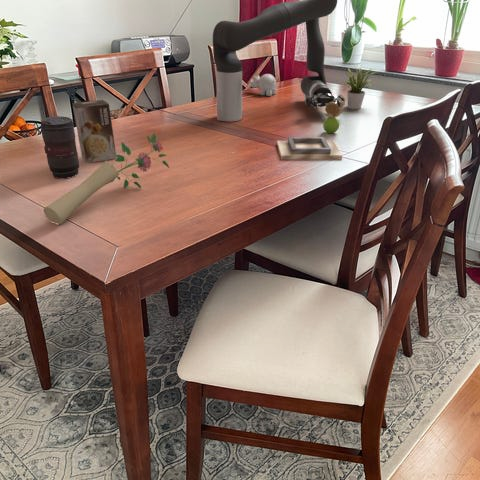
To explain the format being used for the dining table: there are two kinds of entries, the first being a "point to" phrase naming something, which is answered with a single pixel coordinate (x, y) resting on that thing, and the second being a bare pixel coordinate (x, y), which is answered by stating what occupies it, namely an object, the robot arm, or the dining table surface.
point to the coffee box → (94, 130)
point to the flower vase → (98, 183)
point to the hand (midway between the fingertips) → (328, 104)
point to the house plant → (356, 89)
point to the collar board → (308, 148)
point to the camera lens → (60, 146)
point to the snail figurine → (332, 116)
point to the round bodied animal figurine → (265, 84)
